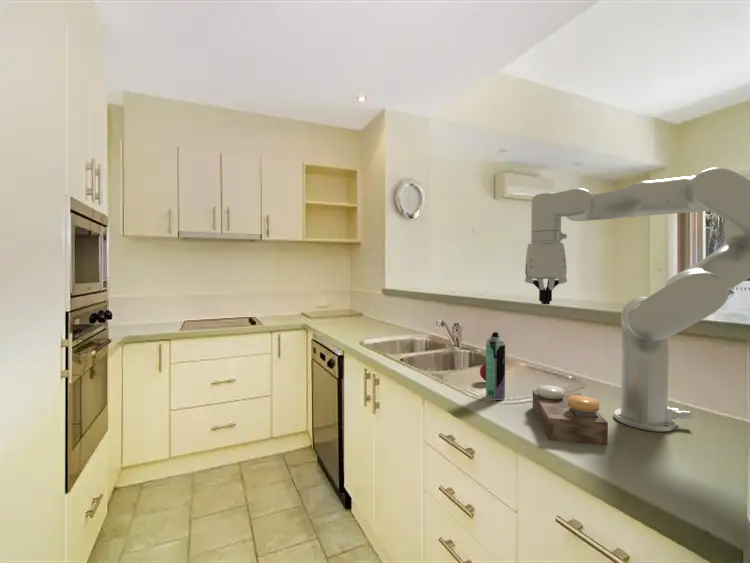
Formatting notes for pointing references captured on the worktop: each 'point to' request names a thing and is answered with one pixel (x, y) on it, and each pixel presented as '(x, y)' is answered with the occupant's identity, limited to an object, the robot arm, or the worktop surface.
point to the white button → (550, 392)
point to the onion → (483, 371)
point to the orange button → (583, 406)
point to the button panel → (569, 422)
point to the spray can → (495, 367)
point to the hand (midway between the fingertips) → (545, 303)
